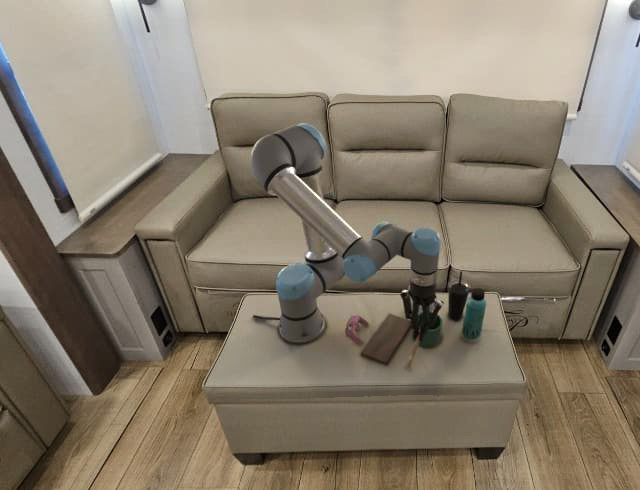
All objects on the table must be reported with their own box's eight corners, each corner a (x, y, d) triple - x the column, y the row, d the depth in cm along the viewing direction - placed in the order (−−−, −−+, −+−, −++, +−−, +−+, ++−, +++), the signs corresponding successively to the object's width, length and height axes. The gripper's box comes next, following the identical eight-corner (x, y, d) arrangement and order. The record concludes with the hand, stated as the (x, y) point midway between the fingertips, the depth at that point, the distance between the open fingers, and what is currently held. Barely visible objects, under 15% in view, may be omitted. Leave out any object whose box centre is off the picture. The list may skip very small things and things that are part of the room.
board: (361, 354, 136) (361, 352, 135) (389, 315, 151) (389, 313, 150) (386, 364, 133) (386, 362, 132) (412, 323, 148) (412, 321, 147)
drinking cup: (465, 324, 148) (472, 280, 136) (443, 321, 149) (448, 277, 137) (466, 310, 154) (473, 266, 142) (445, 306, 155) (450, 263, 143)
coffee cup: (409, 341, 141) (410, 325, 136) (420, 324, 148) (421, 308, 143) (434, 351, 138) (436, 334, 133) (444, 332, 144) (446, 316, 140)
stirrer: (411, 340, 142) (404, 368, 131) (426, 312, 135) (420, 339, 124) (415, 342, 142) (409, 370, 131) (430, 313, 135) (424, 341, 124)
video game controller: (359, 325, 148) (349, 311, 145) (370, 323, 147) (360, 308, 143) (350, 346, 141) (340, 331, 137) (362, 344, 139) (352, 329, 136)
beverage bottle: (458, 339, 142) (464, 294, 130) (464, 326, 147) (471, 282, 135) (477, 346, 140) (485, 301, 128) (482, 332, 145) (491, 288, 133)
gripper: (394, 279, 119) (393, 337, 133) (442, 295, 114) (435, 353, 128) (405, 264, 124) (403, 322, 138) (452, 279, 119) (444, 337, 133)
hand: (418, 337), depth 133 cm, fingers closed on stirrer
